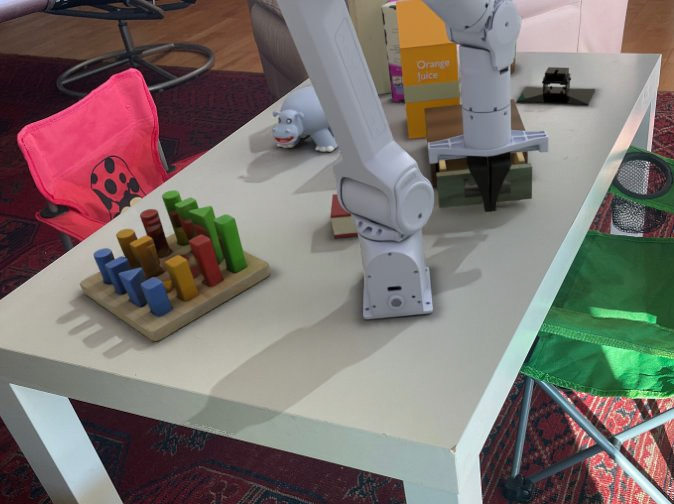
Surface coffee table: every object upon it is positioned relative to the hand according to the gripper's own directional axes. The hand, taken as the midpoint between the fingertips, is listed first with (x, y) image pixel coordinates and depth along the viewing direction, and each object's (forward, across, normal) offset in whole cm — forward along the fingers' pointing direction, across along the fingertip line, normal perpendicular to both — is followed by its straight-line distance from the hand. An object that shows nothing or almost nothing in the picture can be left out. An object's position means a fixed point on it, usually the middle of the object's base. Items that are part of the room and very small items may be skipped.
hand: (489, 208), depth 97 cm
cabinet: (+3, 0, -20) cm, 21 cm away
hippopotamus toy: (+3, +27, -33) cm, 43 cm away
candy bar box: (+3, +7, -50) cm, 50 cm away
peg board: (+3, +41, +6) cm, 41 cm away
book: (+3, +19, -4) cm, 19 cm away
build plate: (+3, -16, -44) cm, 47 cm away
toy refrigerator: (+3, +15, -57) cm, 59 cm away
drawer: (+2, 0, -10) cm, 10 cm away
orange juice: (+3, +6, -36) cm, 36 cm away
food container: (+3, -9, -60) cm, 60 cm away
